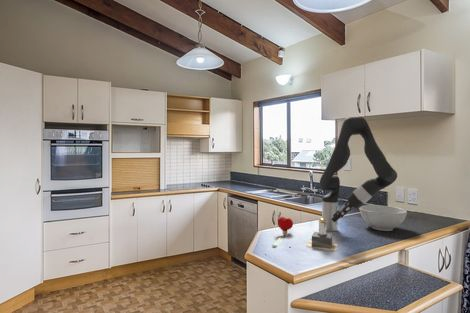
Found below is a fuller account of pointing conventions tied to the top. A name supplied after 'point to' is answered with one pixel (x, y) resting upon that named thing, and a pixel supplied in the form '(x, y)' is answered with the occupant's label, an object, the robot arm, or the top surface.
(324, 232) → the key peg
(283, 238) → the sage mat
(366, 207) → the decorative bowl
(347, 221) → the top surface
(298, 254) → the top surface
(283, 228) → the red rounded lobed piece
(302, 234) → the top surface
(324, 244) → the stand
